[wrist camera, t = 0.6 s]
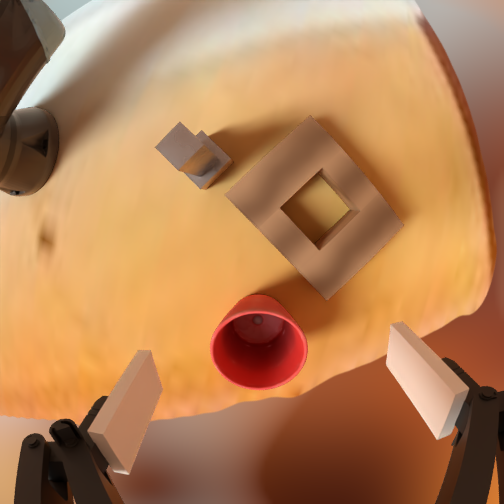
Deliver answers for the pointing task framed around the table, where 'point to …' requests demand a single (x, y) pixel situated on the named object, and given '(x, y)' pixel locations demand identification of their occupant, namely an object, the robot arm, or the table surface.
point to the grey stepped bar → (194, 155)
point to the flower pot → (258, 344)
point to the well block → (347, 188)
